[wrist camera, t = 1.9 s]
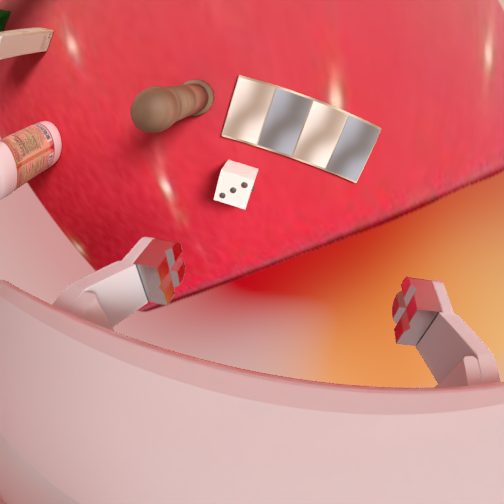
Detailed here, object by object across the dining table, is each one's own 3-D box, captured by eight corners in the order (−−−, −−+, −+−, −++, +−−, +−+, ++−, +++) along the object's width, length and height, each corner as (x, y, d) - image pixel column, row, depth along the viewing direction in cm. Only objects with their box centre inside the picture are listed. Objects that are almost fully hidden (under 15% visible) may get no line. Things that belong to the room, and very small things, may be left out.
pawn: (174, 111, 34) (116, 135, 22) (182, 76, 31) (124, 83, 19) (209, 118, 34) (164, 145, 22) (218, 83, 31) (175, 90, 19)
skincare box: (55, 30, 24) (3, 35, 15) (47, 52, 27) (-4, 61, 17) (37, 27, 23) (-12, 33, 13) (30, 47, 26) (-18, 57, 16)
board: (222, 135, 36) (221, 136, 35) (239, 75, 30) (238, 75, 30) (355, 182, 37) (356, 183, 37) (380, 127, 32) (381, 128, 31)
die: (220, 188, 41) (212, 202, 37) (228, 159, 38) (220, 170, 34) (251, 198, 41) (246, 212, 37) (260, 169, 38) (257, 181, 34)
